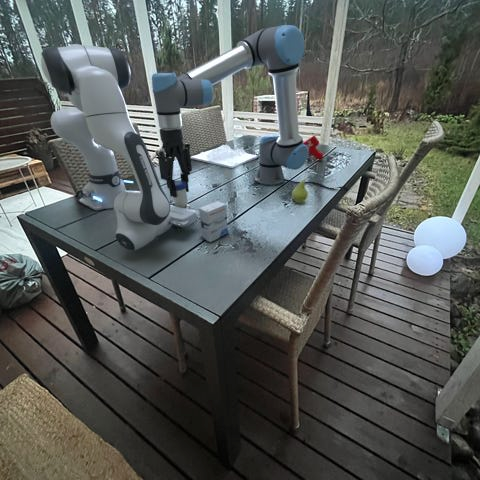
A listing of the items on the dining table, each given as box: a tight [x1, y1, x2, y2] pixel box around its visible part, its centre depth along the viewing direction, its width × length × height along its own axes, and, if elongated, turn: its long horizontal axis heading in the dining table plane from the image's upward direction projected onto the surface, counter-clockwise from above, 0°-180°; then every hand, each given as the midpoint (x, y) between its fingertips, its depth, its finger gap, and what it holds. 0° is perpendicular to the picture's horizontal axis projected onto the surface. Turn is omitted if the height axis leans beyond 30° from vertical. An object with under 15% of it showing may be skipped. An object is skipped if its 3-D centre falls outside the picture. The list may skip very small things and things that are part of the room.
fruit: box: [291, 174, 311, 204], centre depth 118 cm, size 7×8×12 cm
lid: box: [175, 179, 186, 190], centre depth 100 cm, size 6×6×2 cm
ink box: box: [198, 200, 228, 243], centre depth 95 cm, size 8×5×12 cm, turn 135°
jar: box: [172, 188, 189, 208], centre depth 104 cm, size 5×5×15 cm
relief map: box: [190, 144, 259, 169], centre depth 178 cm, size 27×35×5 cm
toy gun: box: [303, 135, 324, 163], centre depth 173 cm, size 18×4×15 cm
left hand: (182, 205), depth 105 cm, fingers closed on jar, 5 cm apart
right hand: (179, 193), depth 102 cm, fingers closed on lid, 5 cm apart
